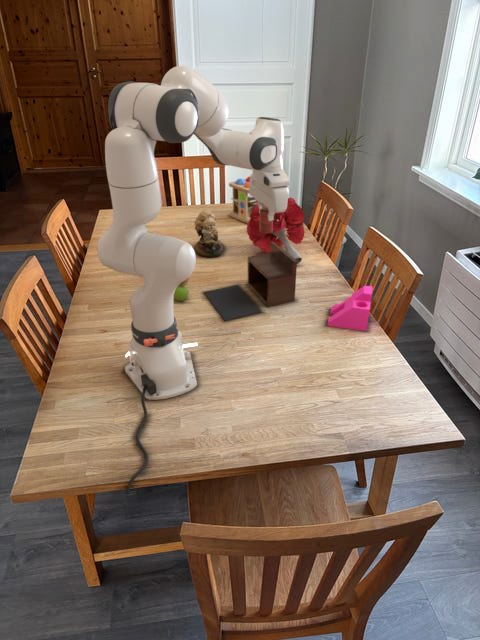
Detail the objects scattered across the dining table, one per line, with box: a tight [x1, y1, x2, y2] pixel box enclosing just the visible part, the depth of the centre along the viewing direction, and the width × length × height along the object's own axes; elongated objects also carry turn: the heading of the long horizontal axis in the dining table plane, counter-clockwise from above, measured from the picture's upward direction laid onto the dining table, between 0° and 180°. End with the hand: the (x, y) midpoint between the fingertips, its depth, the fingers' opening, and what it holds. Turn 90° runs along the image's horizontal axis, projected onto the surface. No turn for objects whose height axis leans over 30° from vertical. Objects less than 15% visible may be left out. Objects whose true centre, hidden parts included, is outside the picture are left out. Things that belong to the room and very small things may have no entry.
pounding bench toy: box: [228, 175, 258, 225], centre depth 229 cm, size 23×14×18 cm, turn 40°
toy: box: [259, 204, 273, 233], centre depth 158 cm, size 4×4×10 cm
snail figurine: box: [173, 277, 190, 302], centre depth 166 cm, size 5×6×12 cm
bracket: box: [327, 285, 373, 332], centre depth 156 cm, size 12×10×10 cm
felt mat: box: [203, 284, 263, 322], centre depth 168 cm, size 20×13×1 cm, turn 23°
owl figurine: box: [194, 209, 225, 258], centre depth 200 cm, size 18×12×17 cm, turn 10°
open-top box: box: [247, 242, 298, 308], centre depth 170 cm, size 17×10×15 cm, turn 23°
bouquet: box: [246, 197, 306, 265], centre depth 195 cm, size 22×24×30 cm
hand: (266, 217), depth 158 cm, fingers closed on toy, 4 cm apart
